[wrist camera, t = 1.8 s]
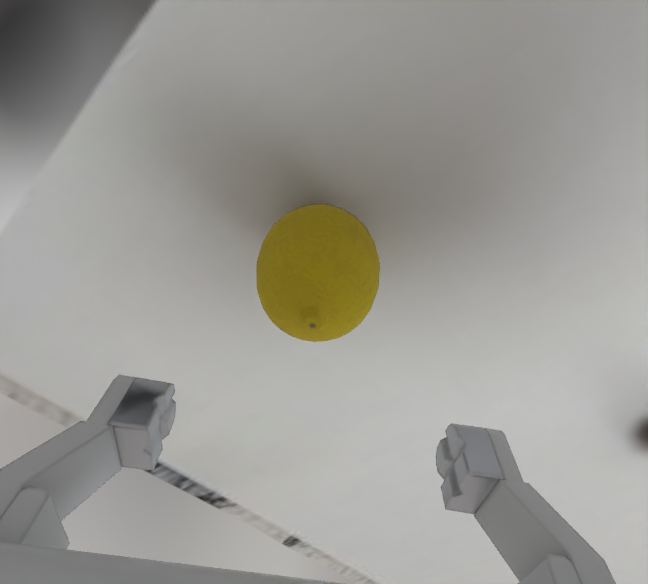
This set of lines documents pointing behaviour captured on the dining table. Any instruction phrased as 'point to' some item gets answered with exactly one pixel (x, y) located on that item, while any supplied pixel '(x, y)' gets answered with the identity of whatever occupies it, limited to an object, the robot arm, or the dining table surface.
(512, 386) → the dining table surface
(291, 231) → the lemon
